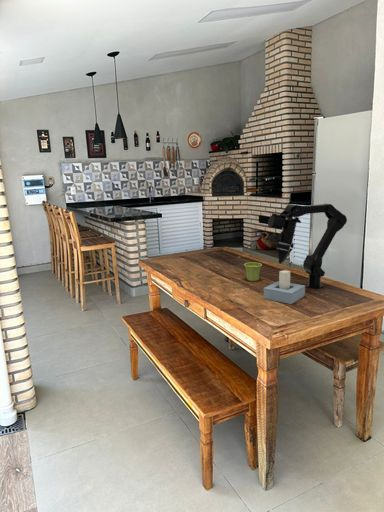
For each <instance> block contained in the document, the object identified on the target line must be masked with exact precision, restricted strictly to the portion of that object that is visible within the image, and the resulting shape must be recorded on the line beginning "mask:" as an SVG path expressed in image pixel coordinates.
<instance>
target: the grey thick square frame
mask: <svg viewBox="0 0 384 512" xmlns="http://www.w3.org/2000/svg"><path fill="white" fill-rule="evenodd" d="M304 297H306V285H303V284H297V283H292V282H290V289H289V290H285V289H279V280H277V281H275V282H272V283H271V284H269V285H267V286H264V287H263V299H264V300H269V301H275V302H278V303H284V304H288V305H292V304H294V303H297V302H298V301H299V300H301V299H302V298H304Z"/></svg>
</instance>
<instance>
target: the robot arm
mask: <svg viewBox="0 0 384 512" xmlns="http://www.w3.org/2000/svg"><path fill="white" fill-rule="evenodd" d="M320 213H321V214H323V213H324V215H325V217H326V218H327V219H328V220H327V223H326V229H325V231H324V233H323V234H322V237H321V238H320V240H319V242H318V244H317V246H316V247H315V250H314V251H313V253H312V254H311V255H309V254H307V255H306V257H305V259H304V260H303V264H302V266H303V269H304V271H305V273H306V274H308V284H307V285H305V288H311V289H316V290H317V289H318V290H319V289H321V288H322V287H324V284H321V282H322V279H321V278H322V277H324V276H325V275H326V272H325V270H324V269H322V266H323V258H324V256H325V254H326V252H327V250H328V249H329V246H330V245H331V243H332V241H333V240H334V238H335V236H336V234H337V233H338V232H339V231H340V230H342V229H343V228H344V227H345V225H346V224H347V221H348V220H347V216H346V215H345V214H343V213H342V212H341V211H340V210H338V209H337V208H335V206H334V205H333V204H331V203H324V204H323V203H321V204H310V205H309V204H308V205H301V204H299V205H298V204H294V203H293V204H291V203H290V204H289V203H288V204H287V205H286V206H285V209H284V210H283V211H282V212H280V214H277V213H271V215H270V217H269V219H268V220H267V226H268V228H270V229H271V228H272V229H276V230H281V231H280V233H279V234H275V233H270V235H269V236H268V238H267V240H268V243H274V242H275V243H276V242H277V243H276V244H275V249H276V250H277V251H278V264H282V263H284V262H285V261H286V259H287V258H288V256H289V255H290V254H291V252H292V250H293V249H294V246H295V243H294V242H293V240H294V237H295V232H296V228H297V224H301V223H302V221H301V220H300V218H299V217H303V216H304V215H307V214H308V215H309V214H320Z"/></svg>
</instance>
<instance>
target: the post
mask: <svg viewBox="0 0 384 512" xmlns="http://www.w3.org/2000/svg"><path fill="white" fill-rule="evenodd" d="M278 274H279V275H278V277H279V280H278V281H279V289H285V290H289V289H290V283H291V271H290V270H286V269H283V270H280V271H279V273H278Z"/></svg>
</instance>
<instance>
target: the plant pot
mask: <svg viewBox="0 0 384 512" xmlns="http://www.w3.org/2000/svg"><path fill="white" fill-rule="evenodd" d="M243 264H244V268H245V273H246V280H247V281H249V282H255V281H259V279H260V274H261V272H260V271H261V268H262V266H263V264H262V263H260V262H255V261H253V262H252V261H251V262H250V261H249V262H246V263H243Z"/></svg>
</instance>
